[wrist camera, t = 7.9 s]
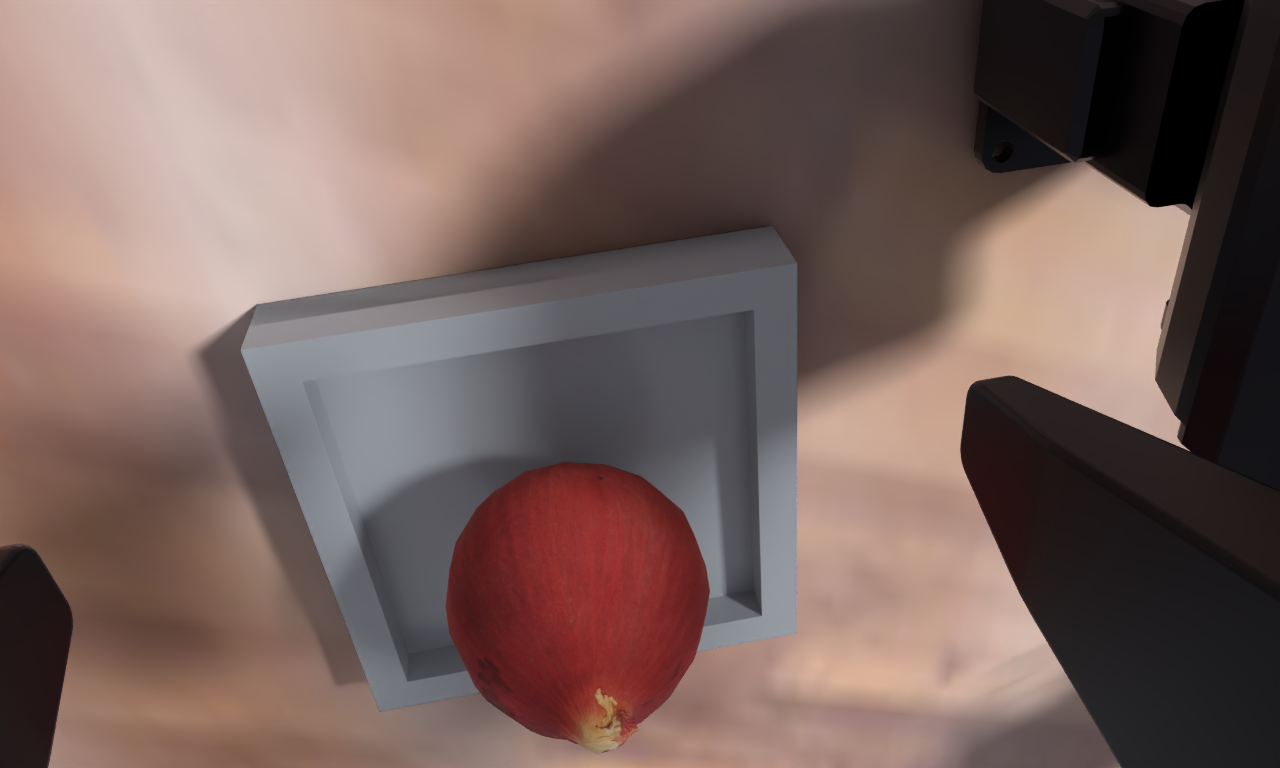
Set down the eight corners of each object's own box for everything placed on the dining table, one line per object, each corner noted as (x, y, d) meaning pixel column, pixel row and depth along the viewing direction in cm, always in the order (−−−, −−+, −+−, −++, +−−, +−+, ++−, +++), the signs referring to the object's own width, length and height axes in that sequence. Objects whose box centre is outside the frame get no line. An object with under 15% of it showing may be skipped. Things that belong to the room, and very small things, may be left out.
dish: (772, 225, 23) (797, 263, 21) (777, 583, 29) (796, 633, 28) (256, 304, 22) (240, 350, 20) (383, 655, 28) (379, 711, 27)
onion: (610, 595, 27) (656, 865, 20) (414, 539, 25) (394, 820, 18) (714, 439, 25) (805, 688, 18) (508, 362, 22) (525, 612, 16)
